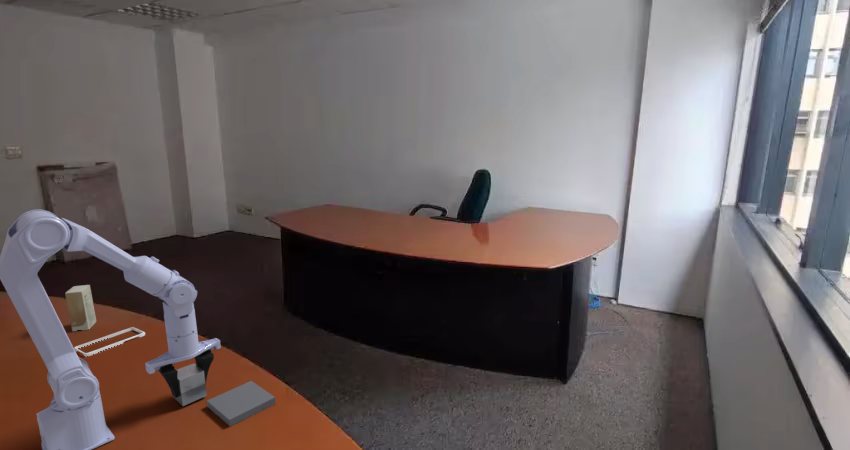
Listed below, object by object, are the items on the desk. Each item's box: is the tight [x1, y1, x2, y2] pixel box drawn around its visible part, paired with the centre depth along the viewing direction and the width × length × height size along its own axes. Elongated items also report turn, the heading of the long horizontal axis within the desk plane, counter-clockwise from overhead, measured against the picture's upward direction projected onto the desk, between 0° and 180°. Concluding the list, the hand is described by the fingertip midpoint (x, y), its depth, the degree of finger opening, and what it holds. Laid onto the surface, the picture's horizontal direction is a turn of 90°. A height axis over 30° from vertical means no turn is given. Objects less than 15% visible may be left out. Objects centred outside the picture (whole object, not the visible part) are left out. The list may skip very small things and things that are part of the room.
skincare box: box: [64, 284, 97, 332], centre depth 134 cm, size 6×4×12 cm
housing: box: [172, 363, 208, 407], centre depth 98 cm, size 5×5×6 cm
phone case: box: [73, 326, 146, 358], centre depth 125 cm, size 7×1×15 cm
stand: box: [206, 380, 277, 427], centre depth 96 cm, size 10×10×2 cm
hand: (189, 389), depth 98 cm, fingers closed on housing, 5 cm apart
